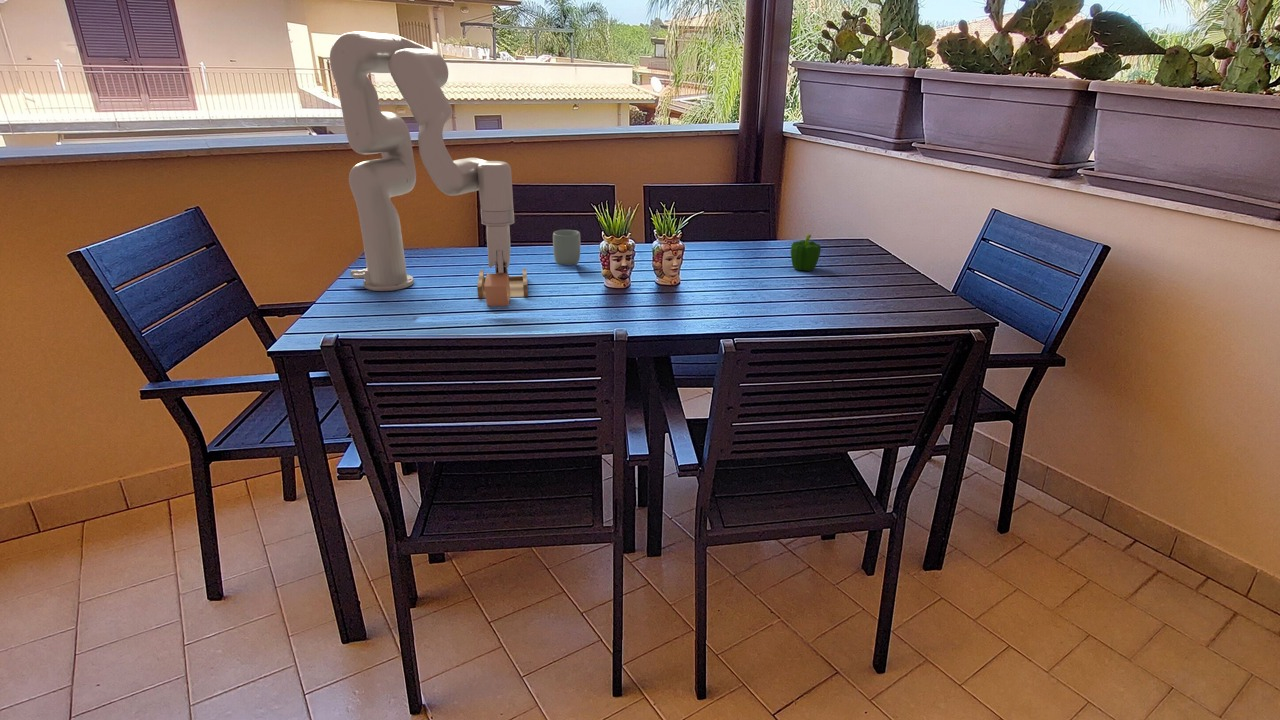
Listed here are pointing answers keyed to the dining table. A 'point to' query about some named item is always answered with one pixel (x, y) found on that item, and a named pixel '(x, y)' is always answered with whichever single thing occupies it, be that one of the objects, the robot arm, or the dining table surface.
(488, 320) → the dining table surface
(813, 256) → the bell pepper
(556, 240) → the cup
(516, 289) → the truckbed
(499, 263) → the robot arm
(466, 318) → the dining table surface
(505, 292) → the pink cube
